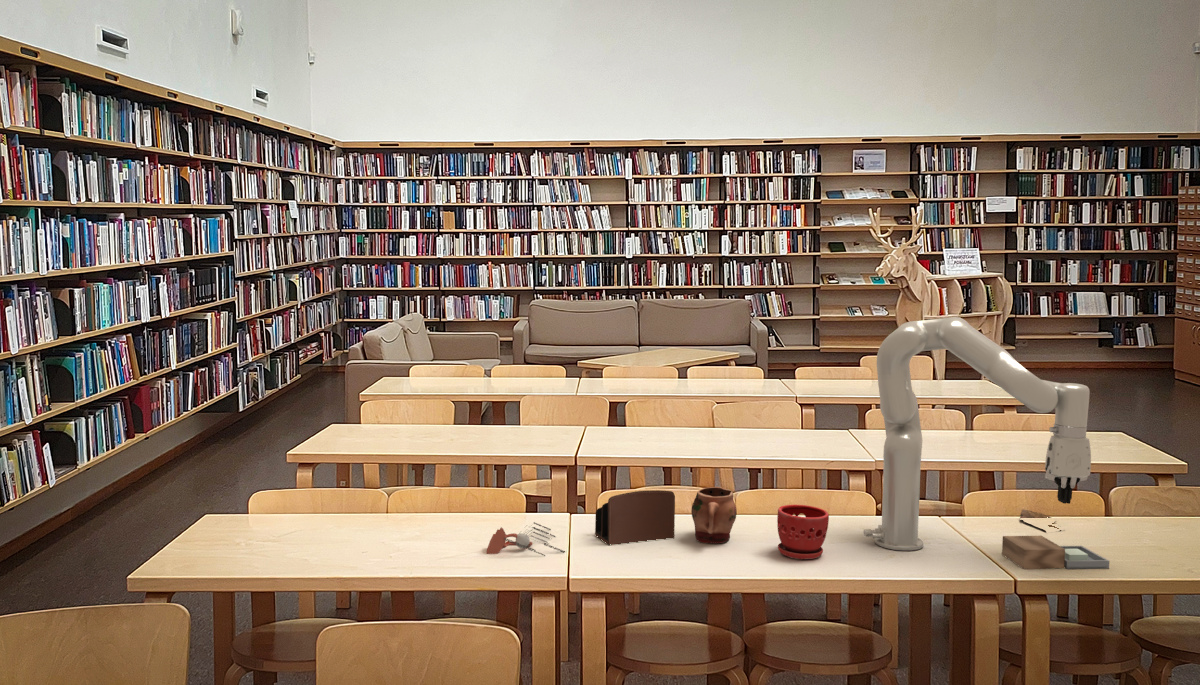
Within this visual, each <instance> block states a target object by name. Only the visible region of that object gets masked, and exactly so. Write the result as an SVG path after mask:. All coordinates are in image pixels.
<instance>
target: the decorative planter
mask: <svg viewBox="0 0 1200 685" xmlns="http://www.w3.org/2000/svg"><path fill="white" fill-rule="evenodd" d="M737 513H738V512H737V506H736V503H735V501H734V493H733V491H732V490H731V489H728V488H727V489H726V488H723V487H721V486H711V487H703V488H701V489H700V490H698V491H697V493H696V496H695V497H694V500H693V502H692V504H691V519H692V520H693V524H694V533H695V534H694V535H695V539H696V541H697V542H699V543H704V544H723V543H727V542H728V541H729V540H730V539H731V532H732V529H733V526H734V524H735V523H736V522H735V521H736V519H737Z"/></svg>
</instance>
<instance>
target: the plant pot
mask: <svg viewBox="0 0 1200 685" xmlns="http://www.w3.org/2000/svg"><path fill="white" fill-rule="evenodd" d="M799 515H804V516H799ZM829 516H830V514H829V512H828V511H827V510H825V509H823V508H820V507H816V506H813V505H808V504H807V505H805V504H785V505H781V506H780V507H778V509H777V519H776V520H777V521H776V522H777V524H776V525H777V534H778V537H779V540H780V542H779V544H778V545H777V549H778V551H779V552H780V554H782V555H783V556H785V557H787V558H791V559H796V560H812V559H817V558H819V557H820V556H822V554H823V553H824V549H823V547H822V545H823V544H824V542H825V540H826V538H827V533H828V528H829V520H830V517H829Z"/></svg>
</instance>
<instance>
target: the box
mask: <svg viewBox="0 0 1200 685" xmlns="http://www.w3.org/2000/svg"><path fill="white" fill-rule="evenodd" d="M1059 546H1060V547H1062V548H1064V549H1079V550H1081V551H1083V552H1085V553H1086V554H1088V560H1082V561H1068V560H1066V559H1065V560H1064V567H1065V568H1064V569H1066V570H1094V569H1095V570H1096V569H1098V570H1100V569H1102V570H1104V569H1105V570H1106V569H1107V570H1108V569H1110V560H1109V559H1107V558H1106V557H1103V556H1102V555H1099V554H1098V553H1096V552H1094V551H1092V550H1091V549H1089V548H1087V547H1084V546H1083V545H1059Z"/></svg>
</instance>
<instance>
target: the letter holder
mask: <svg viewBox="0 0 1200 685" xmlns="http://www.w3.org/2000/svg"><path fill="white" fill-rule="evenodd" d="M675 495H676V494H675V493H674V491H672V490H663V489H662V490H660V489H659V490H658V489H656V490H655V489H654V490H650V489H649V490H638V491H630V492H625V493H621V494H616V495H613V496H610V497H609V498H608V500H607V502H606V503H604V504H602V506H601V507H598V508H597V509H596V511H595V525H594V526H595V529H594V536H595V535H596V536H598V537H599V538H600V539H599V538H598V537H597V538H598V539H599V540H601V539H602V540H603V541H604V542H603V541H602V540H601V541H602V542H603V543H605V542H606V543H607V544H609V545H608V546H611V545H610V544H618V545H622V544H621V543H627V544H630V543H629V542H636V543H639V542H638V541H645V542H648V541H647V540H655V541H657V540H656V539H664V540H667V539H666V538H673V539H675V536H676V535H675V522H676V521H675V518H676V516H675V514H676V512H675V511H676V496H675ZM596 536H595V537H596ZM606 543H605V544H606ZM607 544H606V545H607Z"/></svg>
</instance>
